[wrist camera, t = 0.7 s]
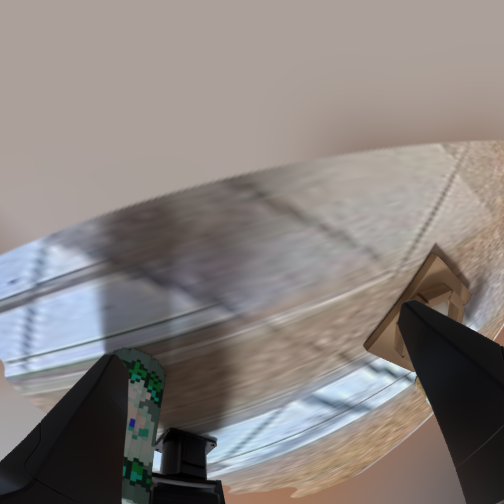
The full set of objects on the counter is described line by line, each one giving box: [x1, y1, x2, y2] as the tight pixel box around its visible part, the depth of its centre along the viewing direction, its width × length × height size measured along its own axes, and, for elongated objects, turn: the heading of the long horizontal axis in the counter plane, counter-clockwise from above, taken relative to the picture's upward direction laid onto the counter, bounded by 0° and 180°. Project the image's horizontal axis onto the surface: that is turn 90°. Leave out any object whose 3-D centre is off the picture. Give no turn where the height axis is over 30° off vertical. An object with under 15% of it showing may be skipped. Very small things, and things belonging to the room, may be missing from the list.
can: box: [113, 348, 166, 504], centre depth 18 cm, size 6×6×15 cm
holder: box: [363, 253, 472, 372], centre depth 26 cm, size 12×10×3 cm
